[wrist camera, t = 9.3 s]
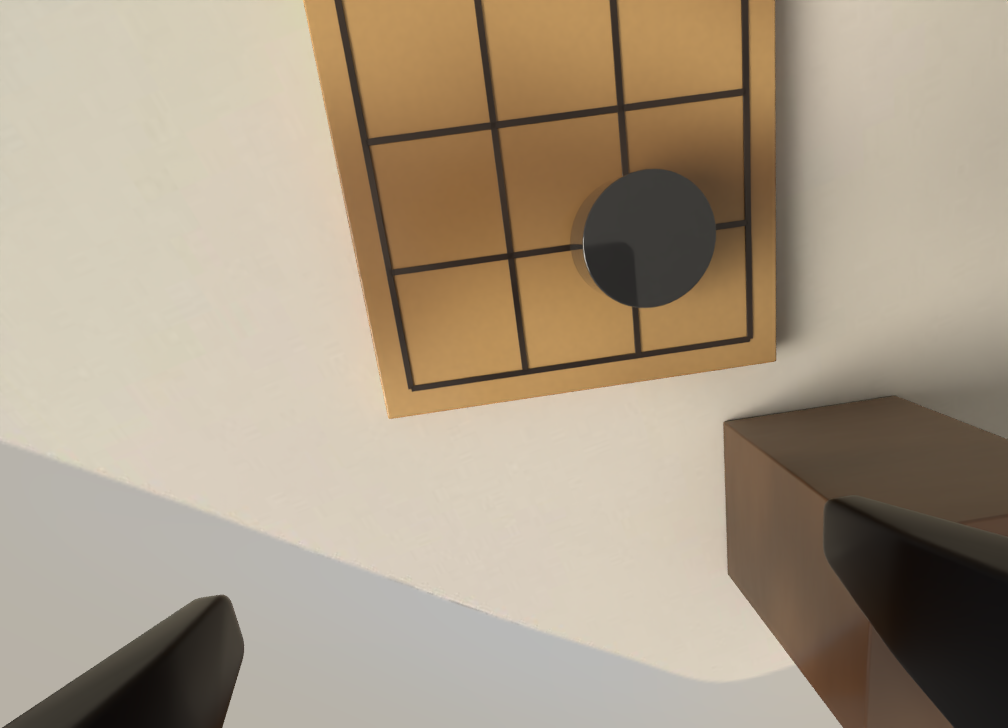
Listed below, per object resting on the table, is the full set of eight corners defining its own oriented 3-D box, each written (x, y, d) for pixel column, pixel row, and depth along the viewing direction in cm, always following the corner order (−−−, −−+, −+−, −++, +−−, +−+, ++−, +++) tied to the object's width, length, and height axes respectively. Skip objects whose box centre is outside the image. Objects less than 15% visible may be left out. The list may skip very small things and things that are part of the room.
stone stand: (886, 548, 23) (1104, 715, 15) (727, 574, 22) (863, 756, 15) (895, 394, 21) (1148, 493, 13) (722, 421, 21) (874, 536, 13)
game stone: (691, 290, 18) (718, 298, 16) (576, 307, 18) (589, 317, 16) (686, 167, 17) (714, 159, 15) (563, 184, 17) (576, 178, 15)
